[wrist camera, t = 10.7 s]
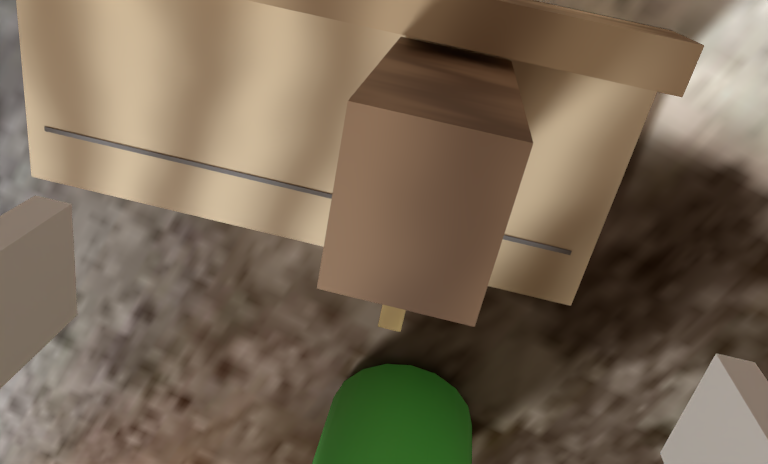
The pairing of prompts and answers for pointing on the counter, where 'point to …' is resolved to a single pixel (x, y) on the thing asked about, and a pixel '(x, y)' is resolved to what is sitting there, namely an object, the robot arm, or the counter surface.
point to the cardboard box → (425, 182)
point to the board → (331, 107)
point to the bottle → (396, 420)
